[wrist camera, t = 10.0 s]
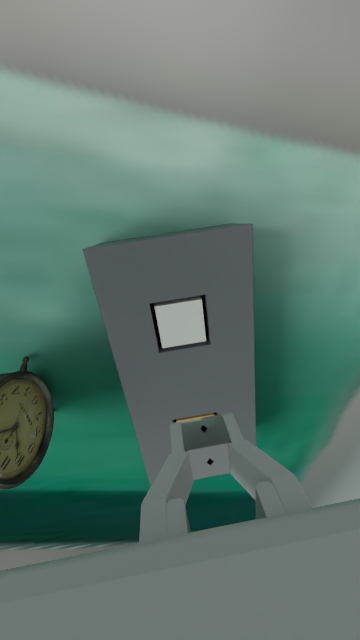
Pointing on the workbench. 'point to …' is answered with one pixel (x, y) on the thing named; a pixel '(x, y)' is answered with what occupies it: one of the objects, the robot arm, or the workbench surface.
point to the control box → (185, 360)
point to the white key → (180, 321)
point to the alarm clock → (23, 425)
